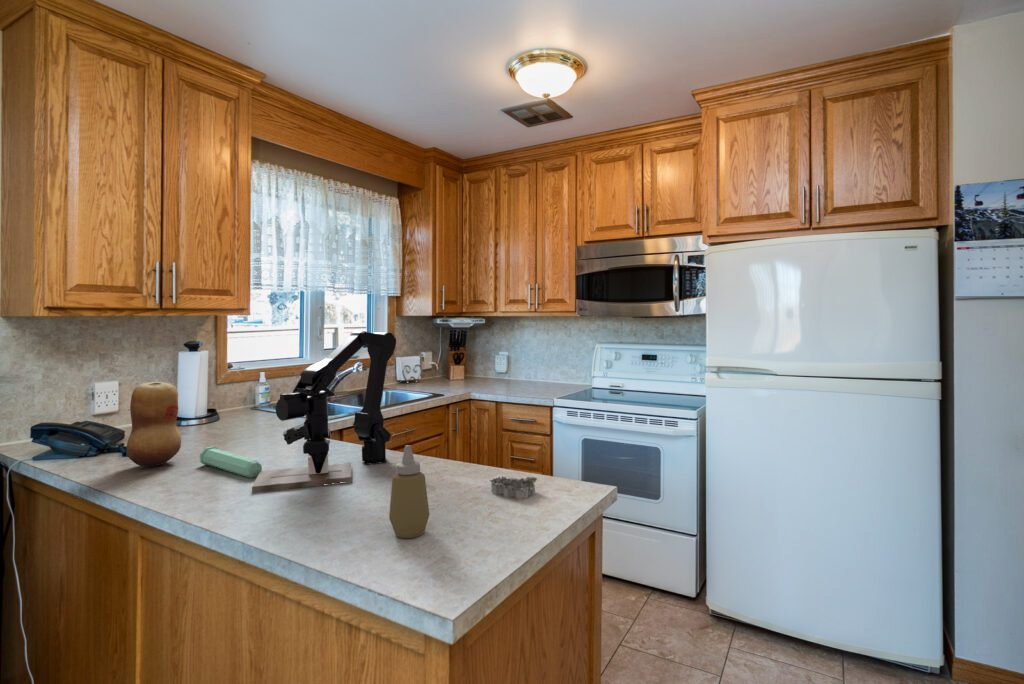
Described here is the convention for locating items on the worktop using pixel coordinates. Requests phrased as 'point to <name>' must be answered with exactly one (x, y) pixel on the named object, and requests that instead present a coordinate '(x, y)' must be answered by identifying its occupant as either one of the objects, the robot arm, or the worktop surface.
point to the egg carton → (514, 487)
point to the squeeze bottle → (408, 498)
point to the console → (300, 478)
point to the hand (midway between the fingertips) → (318, 470)
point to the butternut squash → (153, 424)
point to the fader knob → (312, 469)
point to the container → (230, 462)
